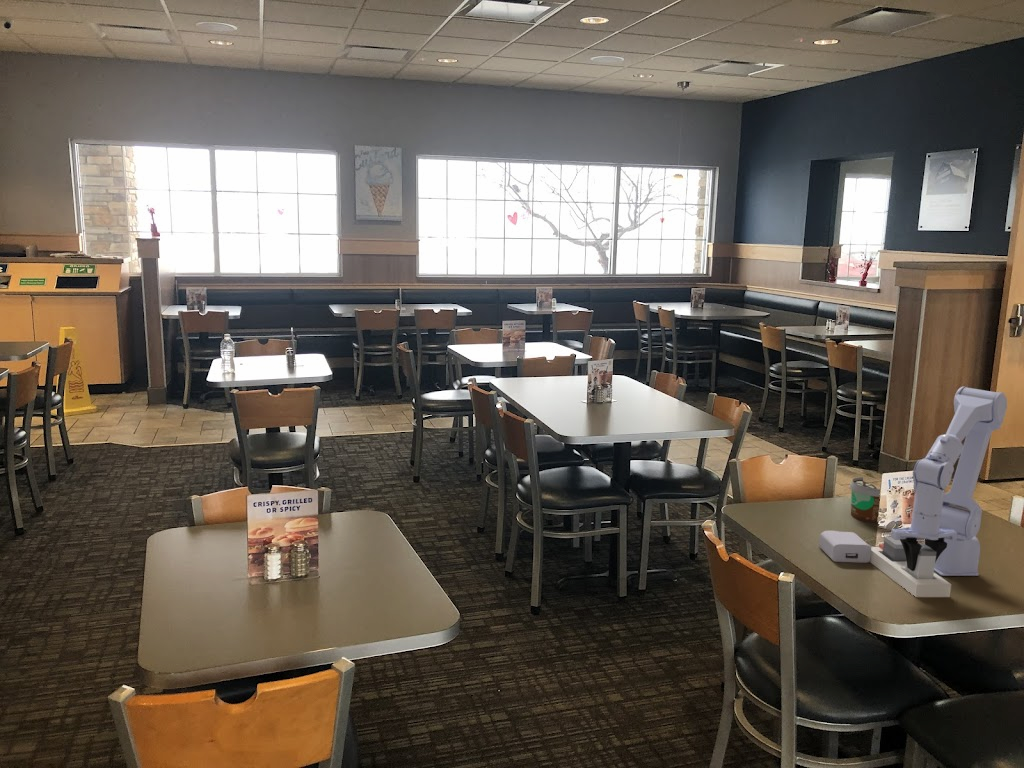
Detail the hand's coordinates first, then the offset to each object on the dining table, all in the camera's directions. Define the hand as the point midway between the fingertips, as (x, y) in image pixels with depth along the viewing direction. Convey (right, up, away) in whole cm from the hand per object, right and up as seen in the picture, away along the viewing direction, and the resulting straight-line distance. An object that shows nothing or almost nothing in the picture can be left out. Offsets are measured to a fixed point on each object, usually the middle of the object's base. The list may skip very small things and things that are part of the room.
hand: (919, 569), depth 188 cm
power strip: (-1, -3, +6) cm, 6 cm away
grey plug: (0, -2, 0) cm, 2 cm away
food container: (+6, +4, +47) cm, 47 cm away
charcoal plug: (-1, -2, +11) cm, 11 cm away
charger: (-10, 0, +21) cm, 23 cm away
